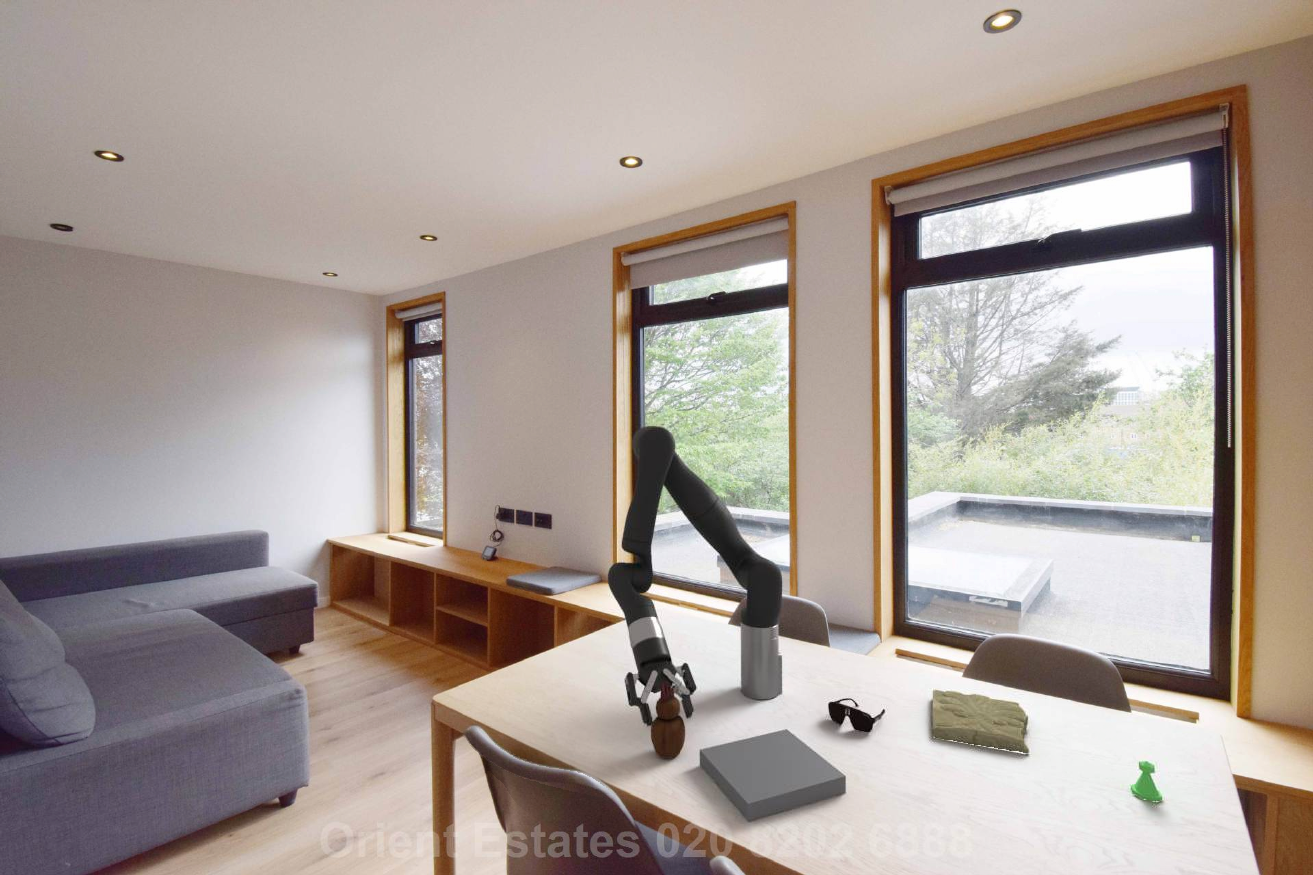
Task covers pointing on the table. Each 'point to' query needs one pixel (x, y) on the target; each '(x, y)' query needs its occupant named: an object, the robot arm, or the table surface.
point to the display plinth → (771, 774)
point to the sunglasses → (852, 715)
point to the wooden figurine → (668, 725)
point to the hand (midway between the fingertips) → (670, 720)
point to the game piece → (1146, 783)
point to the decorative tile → (979, 720)
